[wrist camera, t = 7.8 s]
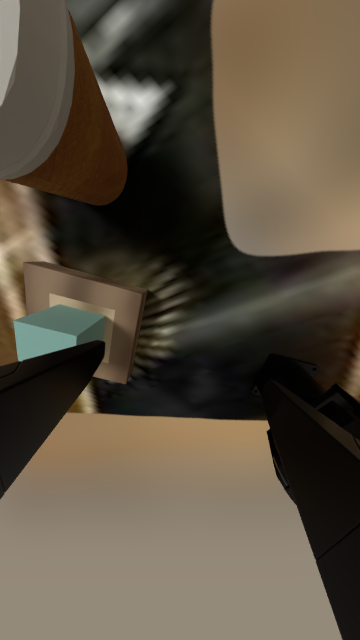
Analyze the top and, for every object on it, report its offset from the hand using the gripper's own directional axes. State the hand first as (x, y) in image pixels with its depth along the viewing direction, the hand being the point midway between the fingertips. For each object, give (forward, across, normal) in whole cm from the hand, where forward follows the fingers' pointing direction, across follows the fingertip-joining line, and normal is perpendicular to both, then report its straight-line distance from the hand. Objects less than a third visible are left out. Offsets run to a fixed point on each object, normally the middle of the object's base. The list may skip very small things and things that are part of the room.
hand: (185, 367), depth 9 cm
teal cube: (+9, +11, +5) cm, 15 cm away
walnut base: (+12, +11, +5) cm, 17 cm away
